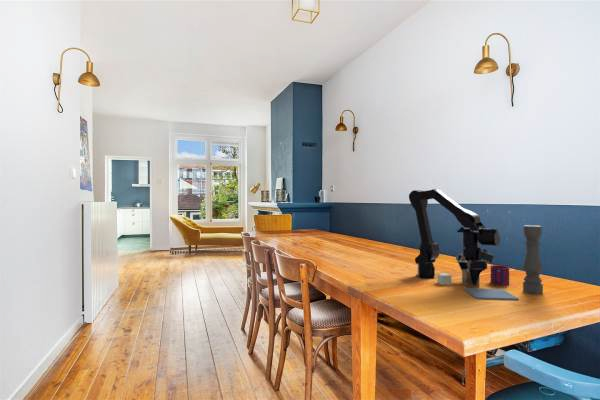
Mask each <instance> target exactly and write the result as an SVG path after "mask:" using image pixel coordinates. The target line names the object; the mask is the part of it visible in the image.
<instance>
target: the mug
mask: <svg viewBox="0 0 600 400" xmlns="http://www.w3.org/2000/svg"><path fill="white" fill-rule="evenodd" d="M490 283H491V284H493V285H499V286H509V285H510V267H509V266H506V265H499V264H498V265H497V264H496V265H495V264H494V265H490Z"/></svg>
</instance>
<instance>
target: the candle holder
mask: <svg viewBox="0 0 600 400" xmlns="http://www.w3.org/2000/svg"><path fill="white" fill-rule="evenodd" d="M542 227H543V226H542V225H534V224H533V225H532V224H531V225H530V224H526V225H525V224H524V225H523V235H524V238H525V239H526V240H525V241H524V242H523V243H524V245H525V246H526V247H525V248H526V254H525V257H524V261H523V264H522V268H523V270H524V272H525V276H524V277H523V280H524V281H522V292H523V293H525V294H529V295H537V296H538V295H543V294H544V285H543V280H542V279H541V277H540V276H541V273H542V272H543V264H542V259H541V257H540V254H539V253H540V249H539V248H540V245H541V244H542V242H541V241H540V239H541V237H542V234H543V231H542V230H543V228H542Z"/></svg>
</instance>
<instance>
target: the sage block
mask: <svg viewBox="0 0 600 400" xmlns="http://www.w3.org/2000/svg"><path fill="white" fill-rule="evenodd" d="M437 284H439V285H442V286H451V285H452V275H451V274H449V273H447V272H444V273H442V272H441V273H439V272H438V273H437Z"/></svg>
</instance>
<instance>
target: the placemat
mask: <svg viewBox="0 0 600 400" xmlns="http://www.w3.org/2000/svg"><path fill="white" fill-rule="evenodd" d="M463 290H464V291H465V292H467V293H468V294H469V296H472V297H473V299H475V300H495V301H496V300H497V301H499V300H500V301H519V298H518V297H517V296H515V295H514V294H512V293H510V292H508V291H507V290H505V289H504V288H503V289H502V288H475V287H473V288H471V287H469V288H467V287H466V288H465V287H464V289H463Z"/></svg>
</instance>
